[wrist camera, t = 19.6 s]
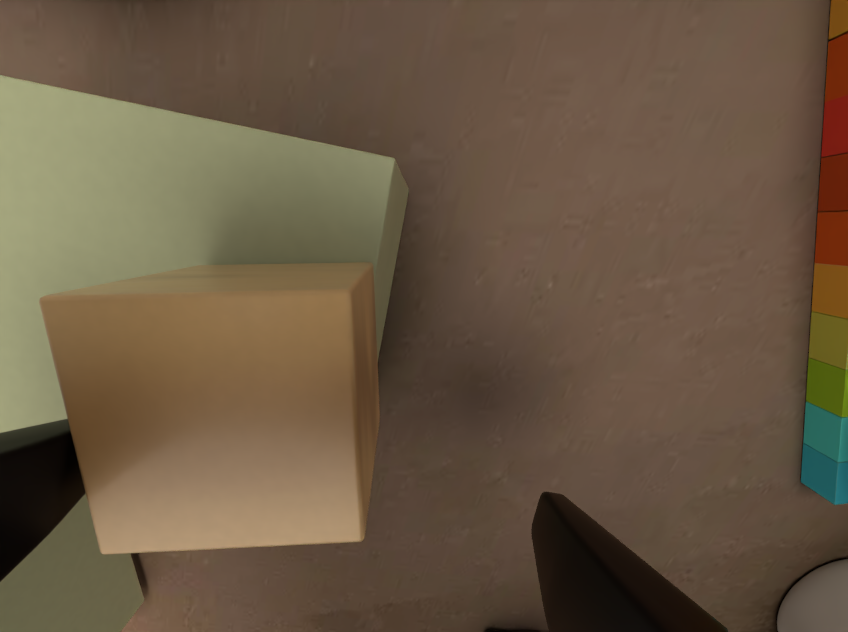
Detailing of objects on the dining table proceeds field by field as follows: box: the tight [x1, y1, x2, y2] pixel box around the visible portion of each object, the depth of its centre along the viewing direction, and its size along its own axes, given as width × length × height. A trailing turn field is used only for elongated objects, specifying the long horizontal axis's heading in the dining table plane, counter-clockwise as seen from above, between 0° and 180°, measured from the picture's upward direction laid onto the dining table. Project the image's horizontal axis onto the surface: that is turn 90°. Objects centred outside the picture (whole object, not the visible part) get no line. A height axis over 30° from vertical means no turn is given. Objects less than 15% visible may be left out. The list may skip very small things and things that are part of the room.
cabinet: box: [0, 75, 409, 433], centre depth 16 cm, size 11×16×9 cm
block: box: [39, 262, 380, 555], centre depth 9 cm, size 5×5×5 cm
